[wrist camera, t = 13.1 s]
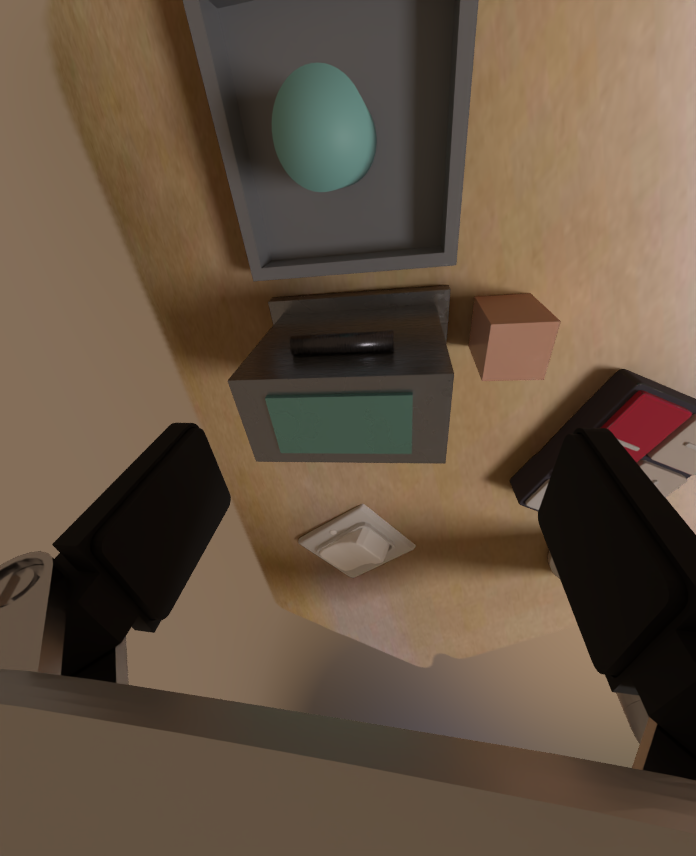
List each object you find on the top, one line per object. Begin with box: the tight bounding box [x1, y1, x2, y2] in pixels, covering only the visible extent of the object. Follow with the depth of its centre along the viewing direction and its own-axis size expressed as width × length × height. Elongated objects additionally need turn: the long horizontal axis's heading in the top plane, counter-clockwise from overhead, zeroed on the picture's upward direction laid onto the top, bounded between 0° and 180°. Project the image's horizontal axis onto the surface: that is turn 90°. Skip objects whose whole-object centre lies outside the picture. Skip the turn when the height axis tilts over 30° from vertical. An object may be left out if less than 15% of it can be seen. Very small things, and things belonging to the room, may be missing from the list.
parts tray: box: [183, 0, 478, 281], centre depth 20 cm, size 14×14×3 cm
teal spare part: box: [272, 63, 377, 192], centre depth 18 cm, size 4×4×7 cm
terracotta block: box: [468, 293, 561, 381], centre depth 24 cm, size 4×4×6 cm
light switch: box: [298, 504, 416, 578], centre depth 46 cm, size 11×4×13 cm
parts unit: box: [228, 285, 454, 463], centre depth 24 cm, size 14×8×12 cm, turn 96°
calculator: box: [510, 369, 696, 511], centre depth 32 cm, size 11×4×15 cm
